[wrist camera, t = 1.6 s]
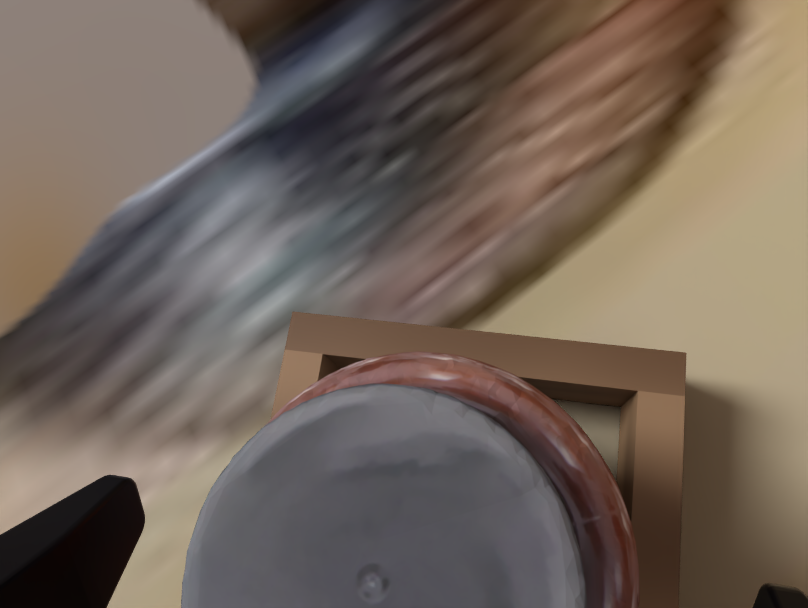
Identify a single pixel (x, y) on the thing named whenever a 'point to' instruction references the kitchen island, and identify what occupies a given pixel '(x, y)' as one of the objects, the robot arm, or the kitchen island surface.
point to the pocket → (558, 379)
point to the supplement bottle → (415, 499)
